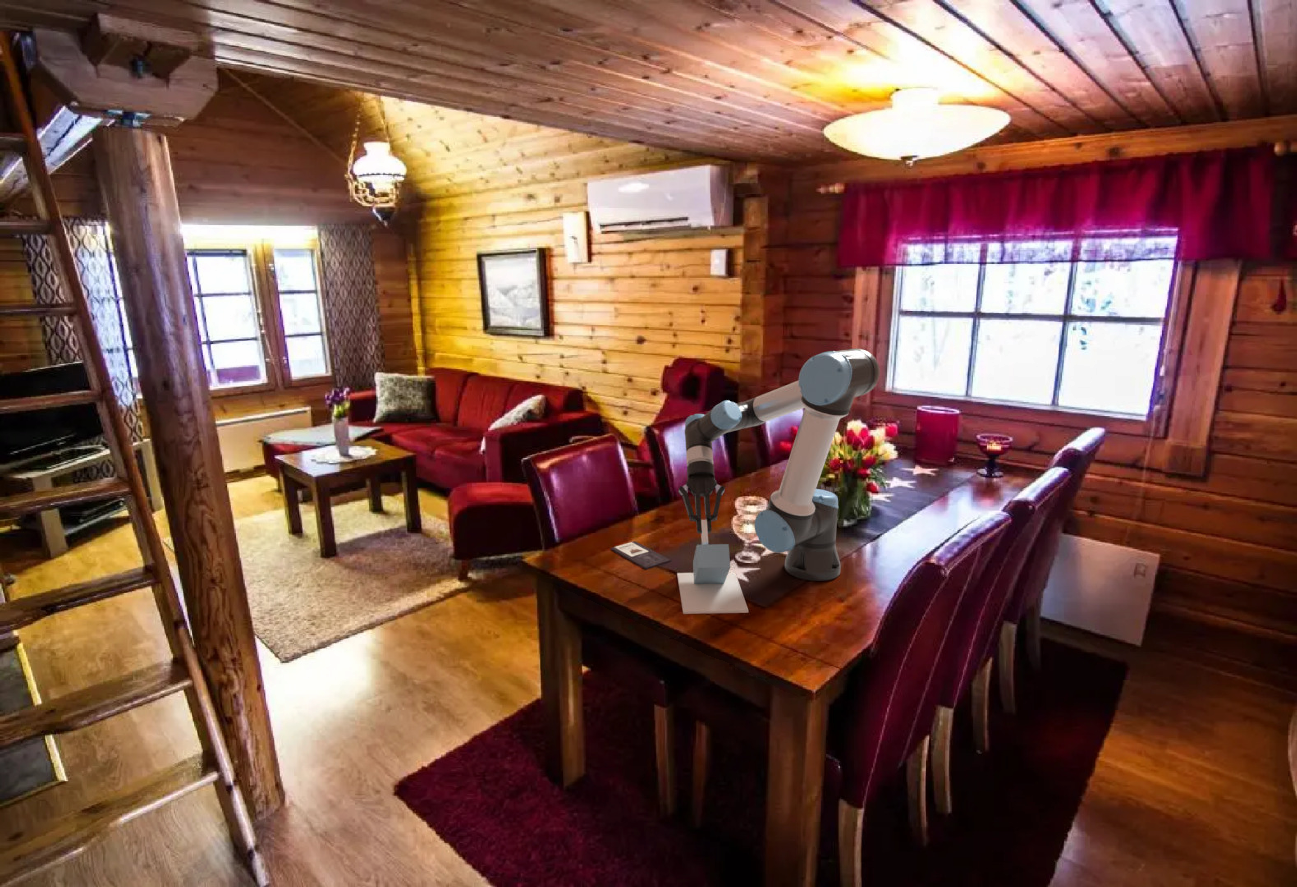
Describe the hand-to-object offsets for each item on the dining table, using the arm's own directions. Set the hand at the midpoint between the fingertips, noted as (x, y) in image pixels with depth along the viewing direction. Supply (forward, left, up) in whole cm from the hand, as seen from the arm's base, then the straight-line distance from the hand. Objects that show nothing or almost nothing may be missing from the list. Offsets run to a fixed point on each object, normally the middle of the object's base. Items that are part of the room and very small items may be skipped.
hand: (705, 544), depth 179 cm
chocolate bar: (+17, -20, -12) cm, 29 cm away
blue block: (-1, -1, -9) cm, 9 cm away
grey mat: (-1, +5, -12) cm, 13 cm away
